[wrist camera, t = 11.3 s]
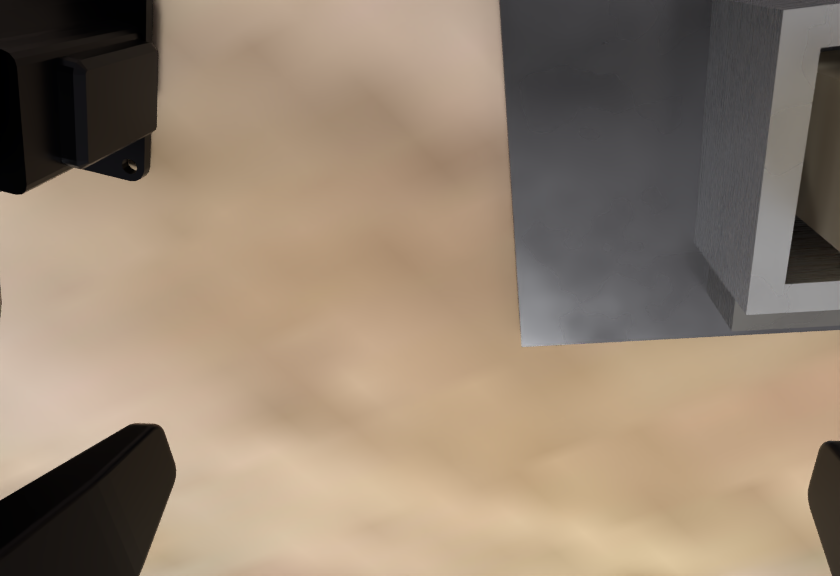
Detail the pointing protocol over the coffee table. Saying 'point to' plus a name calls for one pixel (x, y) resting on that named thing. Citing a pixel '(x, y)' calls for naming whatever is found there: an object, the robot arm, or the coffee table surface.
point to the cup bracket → (665, 168)
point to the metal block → (823, 154)
